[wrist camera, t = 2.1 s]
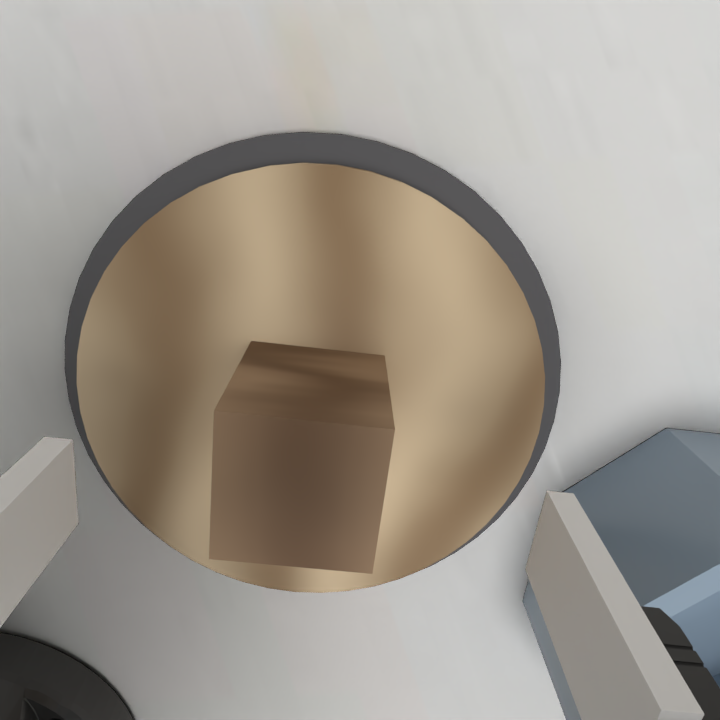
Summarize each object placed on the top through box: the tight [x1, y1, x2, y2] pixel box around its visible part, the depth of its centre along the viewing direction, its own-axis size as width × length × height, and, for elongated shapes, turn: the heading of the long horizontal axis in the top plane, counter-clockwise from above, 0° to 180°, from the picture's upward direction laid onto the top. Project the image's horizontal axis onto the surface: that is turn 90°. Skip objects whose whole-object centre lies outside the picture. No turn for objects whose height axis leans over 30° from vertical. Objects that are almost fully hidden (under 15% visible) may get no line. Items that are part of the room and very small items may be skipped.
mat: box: [65, 132, 561, 576], centre depth 24 cm, size 20×20×1 cm
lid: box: [77, 163, 545, 593], centre depth 20 cm, size 18×18×7 cm
